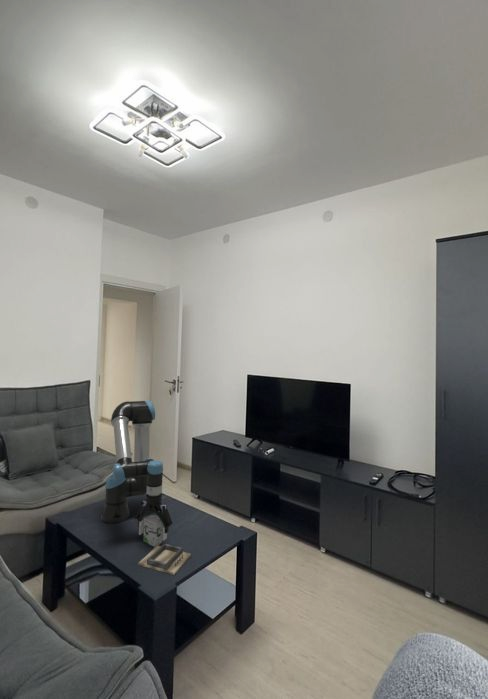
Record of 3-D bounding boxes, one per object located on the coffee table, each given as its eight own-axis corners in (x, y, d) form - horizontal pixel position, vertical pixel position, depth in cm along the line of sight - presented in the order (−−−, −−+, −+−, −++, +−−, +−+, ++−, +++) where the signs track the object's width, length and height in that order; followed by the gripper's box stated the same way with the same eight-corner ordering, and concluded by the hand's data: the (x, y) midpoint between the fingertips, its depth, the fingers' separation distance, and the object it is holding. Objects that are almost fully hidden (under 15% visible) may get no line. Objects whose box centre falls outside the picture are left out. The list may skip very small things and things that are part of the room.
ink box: (142, 541, 172) (143, 517, 172) (150, 537, 176) (151, 513, 176) (154, 547, 167) (155, 522, 167) (162, 543, 171) (163, 519, 171)
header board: (138, 565, 153) (138, 558, 153) (157, 547, 167) (157, 541, 167) (174, 575, 147) (174, 568, 147) (190, 555, 161) (191, 549, 161)
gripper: (128, 492, 172) (126, 534, 172) (172, 500, 164) (170, 545, 164) (137, 486, 180) (136, 528, 179) (180, 494, 171) (178, 537, 171)
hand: (152, 536), depth 171 cm, fingers open, 13 cm apart
